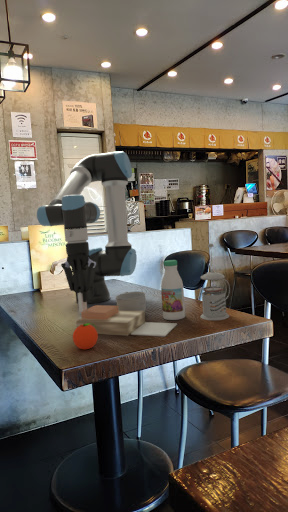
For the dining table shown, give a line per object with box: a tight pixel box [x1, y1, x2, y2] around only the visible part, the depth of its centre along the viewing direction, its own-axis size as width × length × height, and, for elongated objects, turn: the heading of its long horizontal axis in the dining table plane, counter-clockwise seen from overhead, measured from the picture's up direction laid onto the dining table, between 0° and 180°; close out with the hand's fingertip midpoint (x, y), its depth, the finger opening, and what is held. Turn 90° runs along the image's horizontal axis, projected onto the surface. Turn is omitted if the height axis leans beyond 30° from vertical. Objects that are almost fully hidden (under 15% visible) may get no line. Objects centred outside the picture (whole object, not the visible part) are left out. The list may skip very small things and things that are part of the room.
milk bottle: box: [160, 259, 186, 321], centre depth 128 cm, size 8×8×20 cm
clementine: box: [72, 323, 99, 350], centre depth 104 cm, size 8×7×7 cm
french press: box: [199, 243, 231, 321], centre depth 126 cm, size 10×12×25 cm
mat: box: [130, 321, 178, 337], centre depth 117 cm, size 12×11×1 cm
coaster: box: [80, 304, 119, 320], centre depth 123 cm, size 9×9×2 cm
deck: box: [75, 310, 146, 336], centre depth 122 cm, size 14×18×4 cm
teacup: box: [115, 291, 147, 311], centre depth 137 cm, size 14×11×8 cm
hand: (83, 311), depth 126 cm, fingers closed
